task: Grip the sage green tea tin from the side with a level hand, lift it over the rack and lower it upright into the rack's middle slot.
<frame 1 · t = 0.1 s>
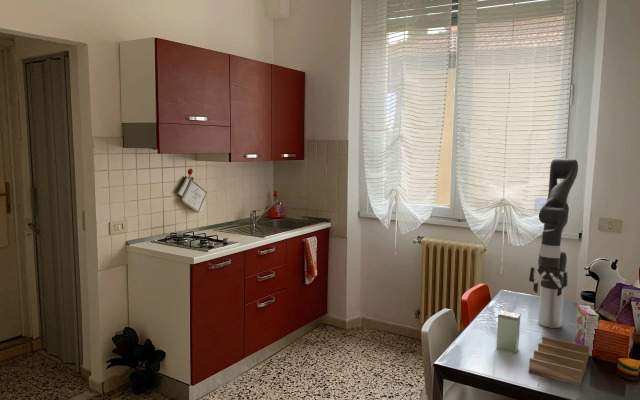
hand: (547, 294, 203), 17 cm above the table, tool pointing down, fingers open, 8 cm apart
plate rack: (559, 365, 176), on the table
candy bar box: (584, 351, 189), on the table
tea tin: (507, 348, 190), on the table
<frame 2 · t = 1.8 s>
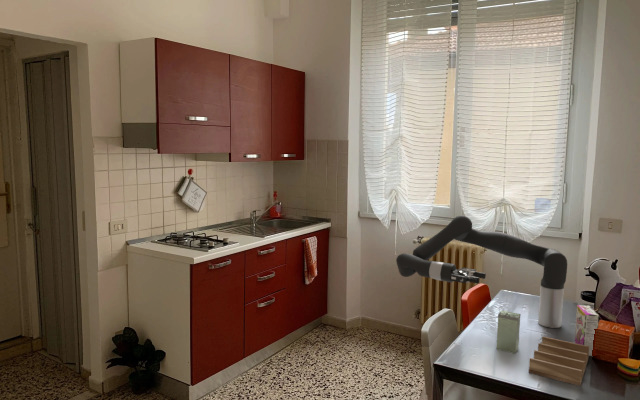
hand: (482, 278, 192), 26 cm above the table, tool horizontal, fingers open, 8 cm apart
nothing on the table moved.
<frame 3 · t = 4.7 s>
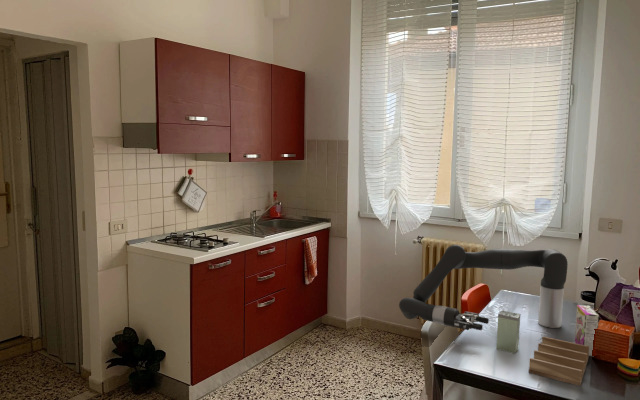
hand: (485, 324, 194), 8 cm above the table, tool horizontal, fingers open, 8 cm apart
nothing on the table moved.
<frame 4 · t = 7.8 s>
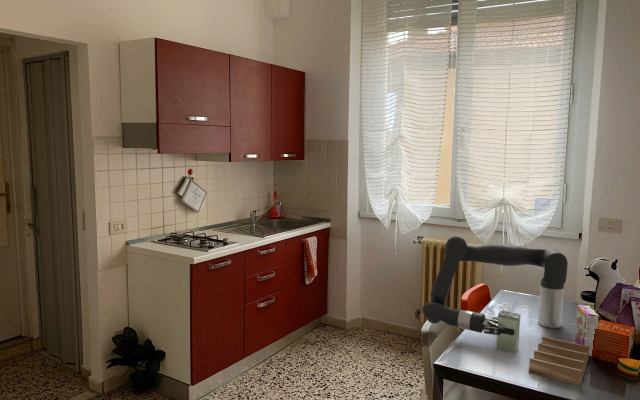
hand: (515, 330, 187), 8 cm above the table, tool horizontal, fingers closed on tea tin, 5 cm apart
tea tin: (507, 348, 190), on the table, touching gripper
everything else where it was.
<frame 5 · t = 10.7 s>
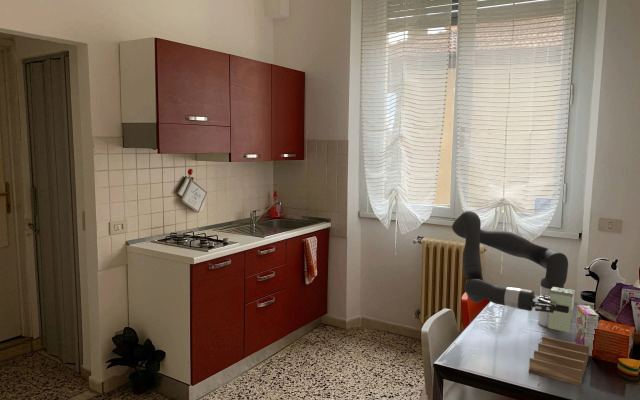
hand: (569, 307, 172), 22 cm above the table, tool horizontal, fingers closed on tea tin, 5 cm apart
tea tin: (559, 328, 174), point 14 cm above the table, touching gripper
everything else where it was.
when the fingers open (11 cm above the table, at t = 13.9 s): tea tin drops 2 cm, resting on plate rack.
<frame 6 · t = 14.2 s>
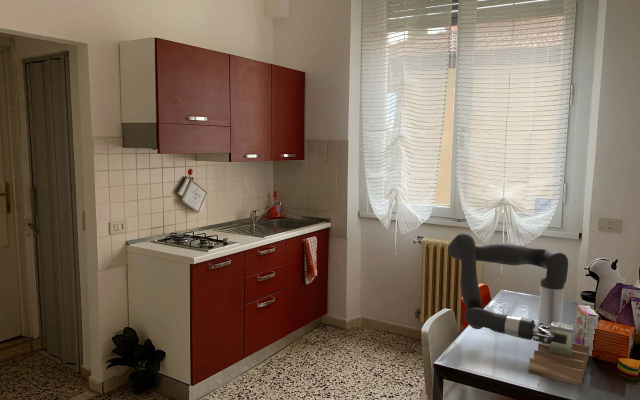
hand: (567, 337, 173), 11 cm above the table, tool horizontal, fingers open, 7 cm apart
tea tin: (559, 362, 176), point 1 cm above the table, touching plate rack
everything else where it was.
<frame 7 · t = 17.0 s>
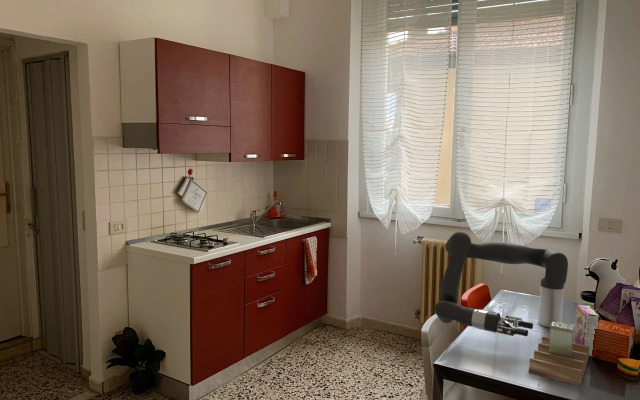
hand: (530, 329, 180), 11 cm above the table, tool horizontal, fingers open, 8 cm apart
nothing on the table moved.
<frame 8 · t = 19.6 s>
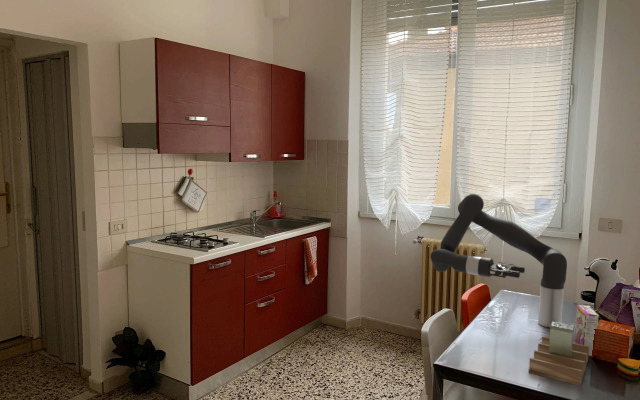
hand: (522, 272, 188), 30 cm above the table, tool horizontal, fingers open, 8 cm apart
nothing on the table moved.
at the end: tea tin 0.0 cm off-centre on the plate rack, point 1.0 cm above the plate rack's base; tea tin tilted 0°; the gripper is holding nothing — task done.
